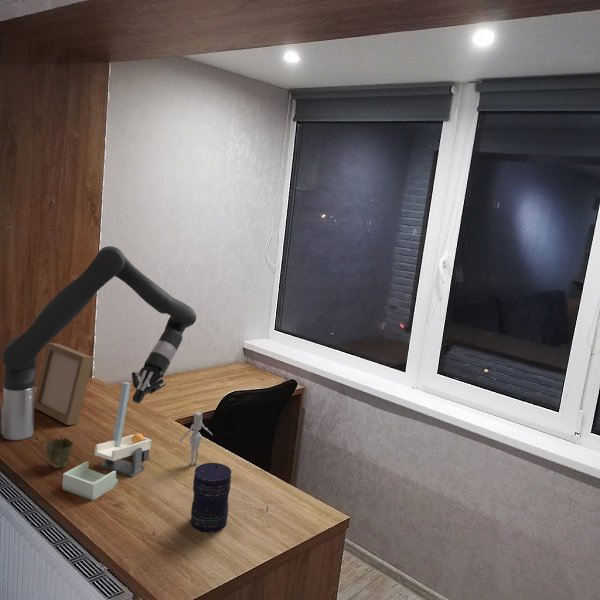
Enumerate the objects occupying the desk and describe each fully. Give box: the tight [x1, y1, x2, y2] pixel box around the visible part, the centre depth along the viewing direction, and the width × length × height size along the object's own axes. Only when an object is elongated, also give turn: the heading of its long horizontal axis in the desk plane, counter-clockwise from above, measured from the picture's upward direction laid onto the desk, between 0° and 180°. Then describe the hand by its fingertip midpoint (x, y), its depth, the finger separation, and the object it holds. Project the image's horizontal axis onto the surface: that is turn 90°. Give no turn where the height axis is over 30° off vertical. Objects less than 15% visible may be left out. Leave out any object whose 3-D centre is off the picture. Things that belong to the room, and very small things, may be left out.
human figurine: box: [178, 411, 213, 467], centre depth 181 cm, size 12×4×18 cm, turn 130°
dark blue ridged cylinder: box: [190, 462, 232, 534], centre depth 151 cm, size 10×10×15 cm
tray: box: [62, 460, 119, 502], centre depth 163 cm, size 11×10×5 cm
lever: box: [94, 381, 153, 461], centre depth 175 cm, size 9×18×21 cm, turn 158°
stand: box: [100, 438, 150, 478], centre depth 178 cm, size 12×12×8 cm
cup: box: [45, 437, 74, 470], centre depth 172 cm, size 8×7×8 cm
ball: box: [132, 432, 144, 444], centre depth 181 cm, size 4×4×4 cm
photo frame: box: [34, 342, 94, 426], centre depth 210 cm, size 15×22×25 cm
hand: (135, 402), depth 182 cm, fingers closed
